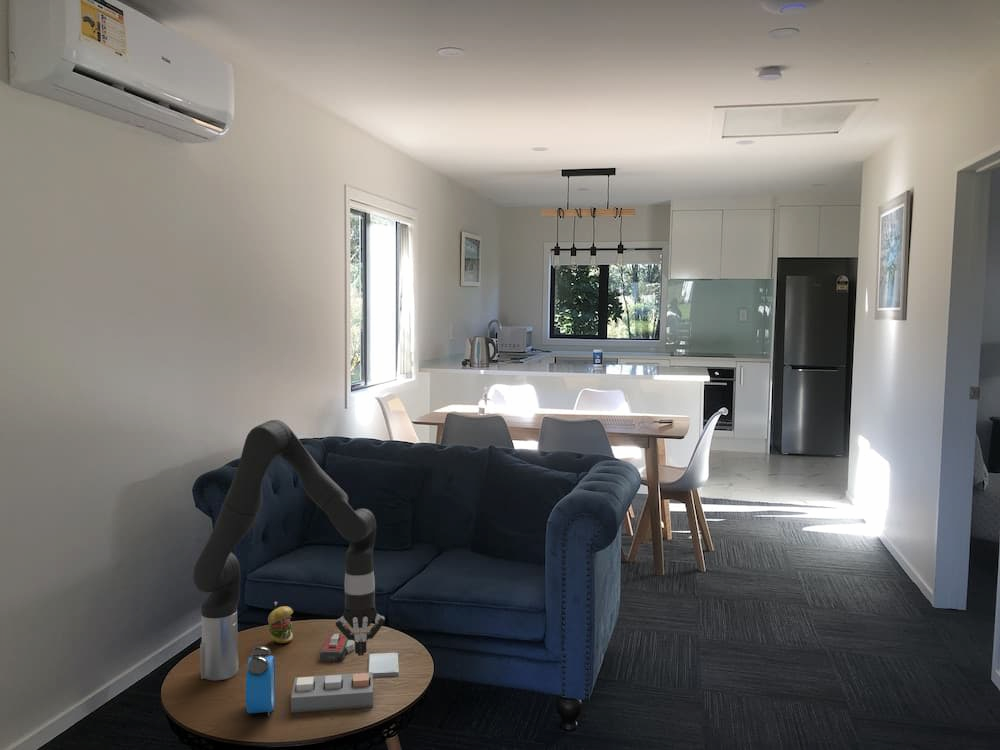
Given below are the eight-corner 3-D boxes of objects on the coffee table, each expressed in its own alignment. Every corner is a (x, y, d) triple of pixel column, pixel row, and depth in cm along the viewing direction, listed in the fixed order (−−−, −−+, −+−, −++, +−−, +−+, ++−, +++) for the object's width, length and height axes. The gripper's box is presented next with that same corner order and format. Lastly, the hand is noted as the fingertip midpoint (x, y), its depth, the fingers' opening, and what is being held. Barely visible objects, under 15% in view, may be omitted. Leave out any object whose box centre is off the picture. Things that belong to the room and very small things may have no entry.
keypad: (291, 712, 199) (291, 697, 198) (295, 691, 209) (295, 677, 209) (373, 706, 202) (372, 692, 201) (372, 685, 213) (372, 672, 212)
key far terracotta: (353, 692, 204) (352, 681, 204) (353, 685, 208) (353, 674, 208) (368, 691, 205) (368, 680, 205) (368, 684, 209) (368, 672, 208)
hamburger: (284, 648, 235) (283, 608, 234) (263, 644, 238) (262, 605, 237) (298, 637, 243) (298, 599, 242) (277, 634, 245) (277, 596, 244)
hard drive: (398, 671, 219) (397, 651, 231) (368, 673, 217) (369, 653, 230) (398, 677, 219) (397, 657, 231) (368, 679, 218) (369, 658, 230)
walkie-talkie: (348, 664, 226) (360, 635, 246) (348, 649, 226) (360, 621, 246) (317, 664, 226) (331, 635, 246) (317, 649, 226) (331, 621, 246)
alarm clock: (271, 722, 194) (270, 662, 193) (245, 724, 193) (243, 664, 191) (275, 696, 207) (274, 640, 205) (250, 698, 206) (249, 641, 204)
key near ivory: (296, 696, 202) (296, 685, 202) (297, 688, 206) (297, 677, 206) (312, 695, 203) (312, 683, 202) (313, 687, 206) (313, 676, 206)
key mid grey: (324, 694, 203) (324, 683, 203) (325, 687, 207) (325, 675, 207) (341, 693, 204) (340, 682, 203) (341, 685, 208) (341, 674, 207)
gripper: (332, 595, 199) (333, 662, 201) (386, 592, 201) (387, 658, 203) (333, 585, 207) (335, 650, 208) (385, 582, 209) (386, 646, 210)
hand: (361, 654), depth 205 cm, fingers closed
